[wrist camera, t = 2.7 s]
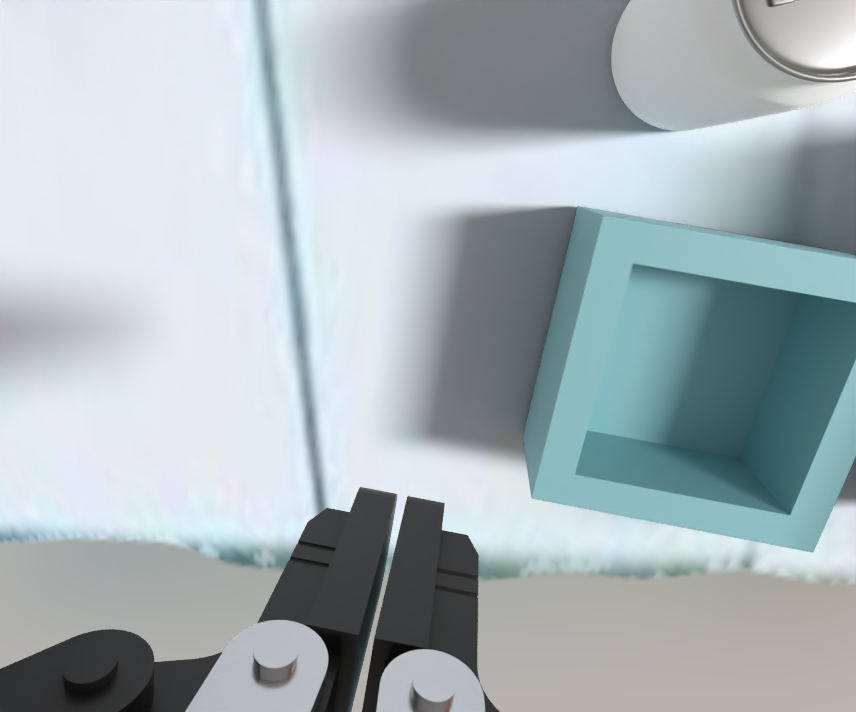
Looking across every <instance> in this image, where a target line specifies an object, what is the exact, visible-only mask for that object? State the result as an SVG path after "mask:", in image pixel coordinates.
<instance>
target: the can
mask: <svg viewBox="0 0 856 712" xmlns="http://www.w3.org/2000/svg"><path fill="white" fill-rule="evenodd" d="M611 66H612V74H613V78H614V82H615V85H616V88H617V90H618V93H619V95H620V97H621V98H622V100H623V102H624V103H625V104H626V106H627V107H628V108H629V109H630V110H631V111H632V112H633V113H634V114H635V115H636V116H637V117H638V118H640V119H641V120H643V121H644V122H646V123H648V124H650V125H652V126H655V127H658V128H661V129H666V130H673V131H687V130H695V129H701V128H707V127H712V126H718V125H723V124H728V123H733V122H738V121H744V120H749V119H754V118H759V117H764V116H769V115H774V114H779V113H784V112H788V111H793V110H798V109H802V108H807V107H811V106H815V105H819V104H823V103H827V102H830V101H833V100H836V99H839V98H841V97H844V96H846V95H849V94H851V93H853V92H855V91H856V0H630V2H629V3H628V5H627V7H626V8H625V10H624V12H623V14H622V16H621V18H620V20H619V22H618V25H617V28H616V31H615V34H614V38H613V43H612V51H611Z"/></svg>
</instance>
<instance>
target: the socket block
mask: <svg viewBox="0 0 856 712" xmlns="http://www.w3.org/2000/svg"><path fill="white" fill-rule="evenodd" d="M523 443H524V450H525V457H526V463H527V470H528V477H529V484H530V490H531V497H532V499H537V500H543V501H548V502H553V503H558V504H563V505H569V506H574V507H579V508H584V509H589V510H595V511H600V512H605V513H610V514H615V515H621V516H626V517H631V518H636V519H642V520H647V521H652V522H657V523H662V524H668V525H673V526H678V527H683V528H688V529H694V530H699V531H704V532H709V533H714V534H720V535H725V536H730V537H735V538H740V539H746V540H751V541H756V542H761V543H766V544H772V545H777V546H782V547H787V548H792V549H798V550H803V551H808V552H814V549H815V547H816V545H817V543H818V540H819V538H820V536H821V534H822V531H823V529H824V527H825V525H826V522H827V520H828V518H829V516H830V514H831V511H832V509H833V507H834V505H835V502H836V500H837V498H838V496H839V493H840V491H841V489H842V487H843V484H844V482H845V480H846V478H847V475H848V473H849V471H850V469H851V467H852V464H853V462H854V460H855V458H856V255H853V254H848V253H844V252H839V251H834V250H828V249H822V248H816V247H810V246H805V245H799V244H793V243H787V242H782V241H776V240H770V239H764V238H759V237H753V236H747V235H741V234H736V233H730V232H724V231H718V230H712V229H707V228H701V227H695V226H689V225H684V224H678V223H672V222H666V221H661V220H655V219H649V218H643V217H637V216H632V215H626V214H620V213H614V212H609V211H603V210H597V209H591V208H586V207H580V206H578V207H577V212H576V216H575V220H574V224H573V228H572V233H571V237H570V241H569V245H568V249H567V254H566V258H565V262H564V266H563V270H562V274H561V279H560V283H559V287H558V291H557V295H556V300H555V304H554V308H553V312H552V316H551V321H550V325H549V329H548V333H547V337H546V342H545V346H544V350H543V354H542V358H541V363H540V367H539V371H538V375H537V379H536V384H535V388H534V392H533V396H532V400H531V405H530V409H529V413H528V417H527V421H526V425H525V430H524V434H523Z"/></svg>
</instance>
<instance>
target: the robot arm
mask: <svg viewBox="0 0 856 712" xmlns="http://www.w3.org/2000/svg"><path fill="white" fill-rule="evenodd" d="M396 501H397V494H394V493H388V492H383V491H378V490H373V489H368V488H363V487H360V488H359V490H358V493H357V495H356V498H355V500H354V503H353V506H352V508H351V511H350V512H345V511H340V510H335V509H330V508H326V509H325V510H324V511H322V512H321V513H319V514H318V515H317V516H315V517H314V518H313V519H311V520H310V521H309V522H308V523H307V525H306V527H305V529H304V531H303V533H302V535H301V537H300V539H299V542H298V545H296V547H295V549H294V551H293V553H292V555H291V558H290V561H288V563H287V565H286V567H285V569H284V571H283V573H282V575H281V577H280V579H279V581H278V583H277V585H276V587H275V589H274V591H273V593H272V595H271V597H270V599H269V601H268V603H267V605H266V607H265V609H264V611H263V613H262V615H261V617H260V619H259V621H258V623H257V624H255V625H252V626H250V627H248V628H246V629H244V630H243V631H241V632H240V633H238V634H237V635H236V636H235V637H234V638H233V639H232V640H231V641H230V643H229V644H228V645H227V646H226V648H225V649H224V651H223V652H221V653H218V654H216V655H213V656H209V657H205V658H198V659H190V660H176V661H165V662H154V655H153V651H152V649H151V647H150V645H148V643H147V642H146V641H145V640H144V639H142V638H141V637H140V636H138V635H136V634H133V633H131V632H127V631H123V630H114V629H112V630H98V631H92V632H88V633H84V634H81V635H78V636H76V637H73V638H70V639H68V640H66V641H64V642H61V643H59V644H57V645H54V646H52V647H50V648H48V649H45V650H43V651H41V652H38V653H36V654H34V655H32V656H29V657H27V658H25V659H22V660H20V661H18V662H15V663H13V664H11V665H9V666H6V667H4V668H2V669H0V712H351V710H352V706H353V701H354V697H355V693H356V689H357V685H358V681H359V677H360V673H361V669H362V665H363V661H364V657H365V652H366V648H367V644H368V640H369V636H370V632H371V628H372V624H373V620H374V615H375V611H376V607H377V603H378V599H379V595H380V591H381V586H382V581H383V577H384V571H385V566H386V561H387V555H388V549H389V543H390V537H391V531H392V525H393V519H394V513H395V507H396ZM443 513H444V503H441V502H436V501H430V500H425V499H420V498H415V497H410V496H408V497H407V501H406V505H405V509H404V513H403V518H402V522H401V526H400V531H399V535H398V539H397V544H396V548H395V552H394V556H393V561H392V565H391V569H390V574H389V578H388V583H387V586H386V591H385V595H384V599H383V604H382V608H381V612H380V617H379V621H378V625H377V629H376V634H375V638H374V644H373V650H372V656H371V662H370V668H369V673H368V679H367V685H366V692H365V698H364V703H363V709H362V712H499V711H498V710H497V709H496V708H495V707H494V705H493V704H492V703H491V702H490V700H489V699H488V698H487V696H486V694H485V692H484V691H483V689H482V686H481V684H480V681H479V677H478V671H477V633H478V624H477V623H478V598H477V596H478V553H477V552H476V550H475V548H474V546H473V544H472V542H471V541H470V539H469V537H468V535H464V534H458V533H453V532H448V531H443V530H442V522H443Z"/></svg>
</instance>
